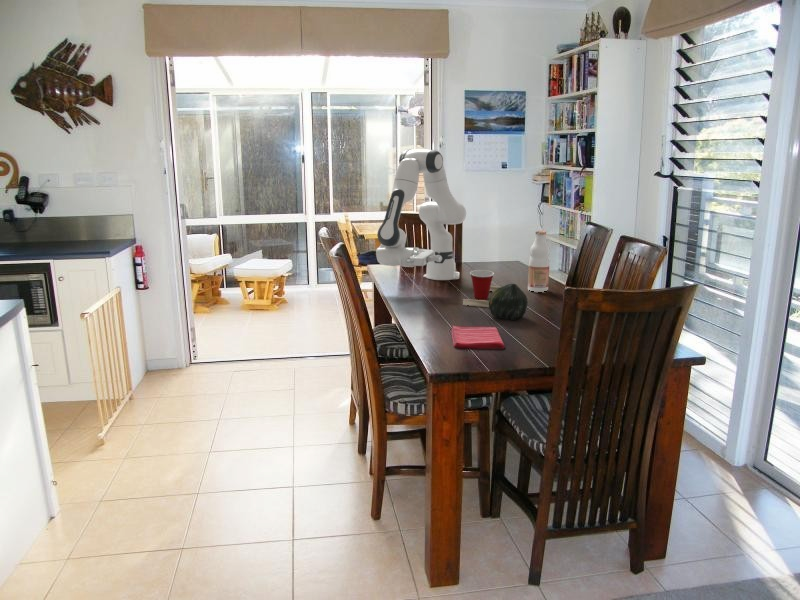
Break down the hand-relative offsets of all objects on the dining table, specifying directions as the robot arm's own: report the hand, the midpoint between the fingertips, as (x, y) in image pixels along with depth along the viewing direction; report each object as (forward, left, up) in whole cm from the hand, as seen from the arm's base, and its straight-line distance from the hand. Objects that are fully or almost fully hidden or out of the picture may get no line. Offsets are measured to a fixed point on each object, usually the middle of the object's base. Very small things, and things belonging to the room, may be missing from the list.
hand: (439, 258), depth 289 cm
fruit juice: (-24, +42, -17) cm, 51 cm away
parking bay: (0, +23, -17) cm, 29 cm away
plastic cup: (+1, +20, -17) cm, 26 cm away
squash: (+31, +36, -17) cm, 51 cm away
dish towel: (+64, +30, -18) cm, 73 cm away
